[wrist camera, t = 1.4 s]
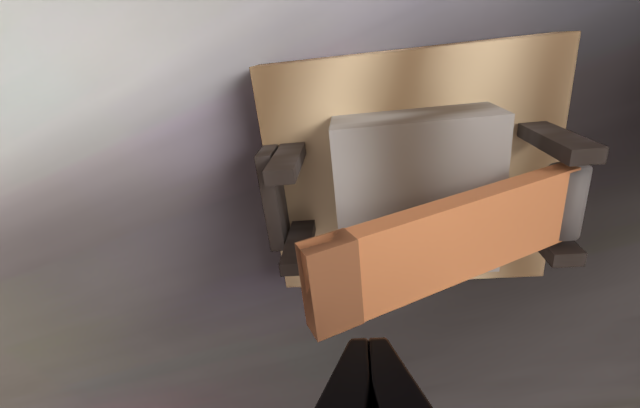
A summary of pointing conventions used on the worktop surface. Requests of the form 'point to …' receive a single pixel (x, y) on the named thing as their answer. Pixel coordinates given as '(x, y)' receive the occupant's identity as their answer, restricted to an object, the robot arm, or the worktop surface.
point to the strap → (436, 245)
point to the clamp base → (413, 84)
